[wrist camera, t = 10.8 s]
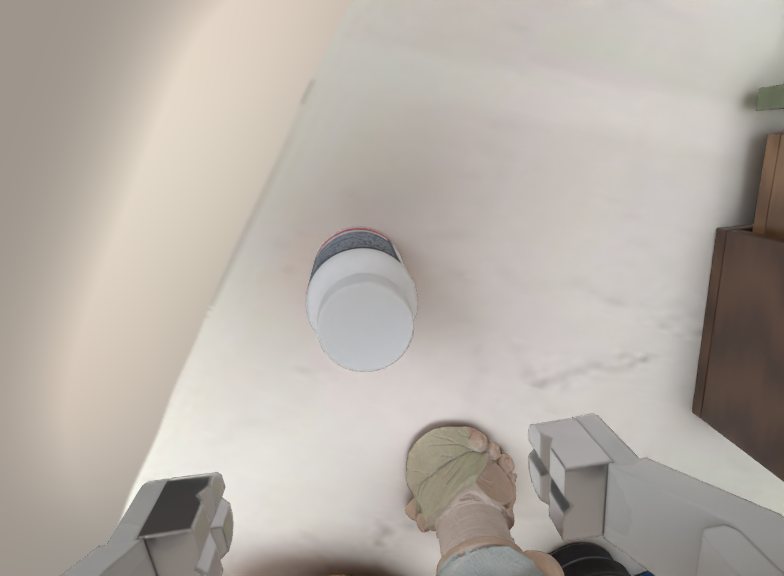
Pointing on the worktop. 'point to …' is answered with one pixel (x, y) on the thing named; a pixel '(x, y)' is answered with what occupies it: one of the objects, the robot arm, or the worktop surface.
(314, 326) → the pill bottle
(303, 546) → the worktop surface
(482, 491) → the figurine
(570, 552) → the camera lens
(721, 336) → the cabinet
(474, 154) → the worktop surface
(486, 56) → the worktop surface
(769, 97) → the drawer
